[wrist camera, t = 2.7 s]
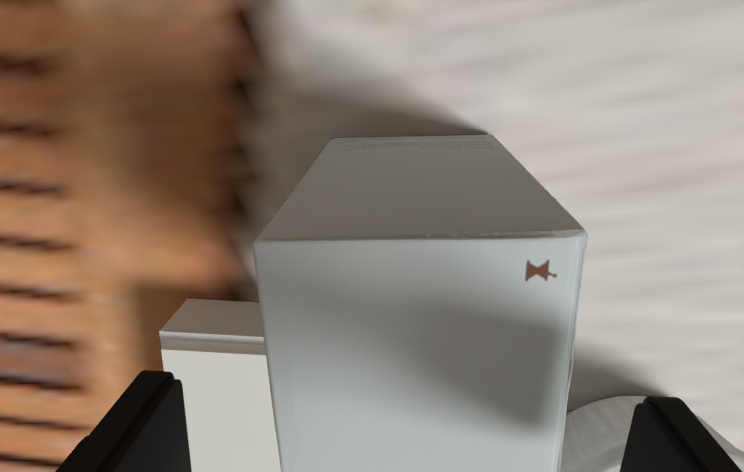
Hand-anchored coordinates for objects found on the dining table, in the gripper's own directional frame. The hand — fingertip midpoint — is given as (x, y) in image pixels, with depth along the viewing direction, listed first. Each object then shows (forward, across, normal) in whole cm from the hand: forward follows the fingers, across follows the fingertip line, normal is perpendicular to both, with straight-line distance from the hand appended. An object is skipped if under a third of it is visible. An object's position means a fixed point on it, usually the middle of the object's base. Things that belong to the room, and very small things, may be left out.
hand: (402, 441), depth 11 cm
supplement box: (+14, 0, -1) cm, 14 cm away
